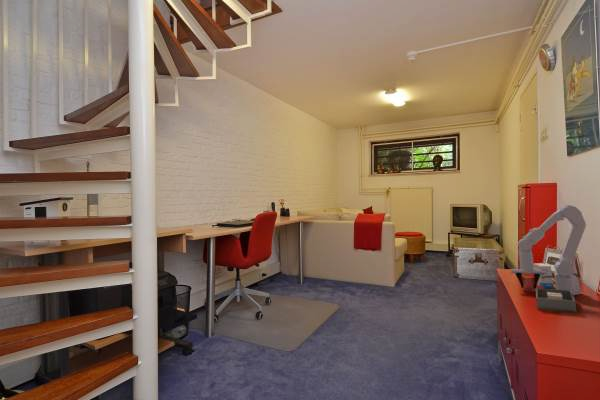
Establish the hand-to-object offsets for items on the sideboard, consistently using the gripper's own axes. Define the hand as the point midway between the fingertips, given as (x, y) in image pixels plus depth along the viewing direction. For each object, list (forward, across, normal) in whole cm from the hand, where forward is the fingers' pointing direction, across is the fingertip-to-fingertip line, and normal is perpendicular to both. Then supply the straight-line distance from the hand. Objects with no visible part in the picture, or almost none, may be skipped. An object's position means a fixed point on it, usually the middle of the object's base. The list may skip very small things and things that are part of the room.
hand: (528, 287), depth 165 cm
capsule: (+2, 0, 0) cm, 2 cm away
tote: (+2, +10, -21) cm, 23 cm away
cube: (+1, +10, -25) cm, 27 cm away
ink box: (+2, +6, +13) cm, 14 cm away
